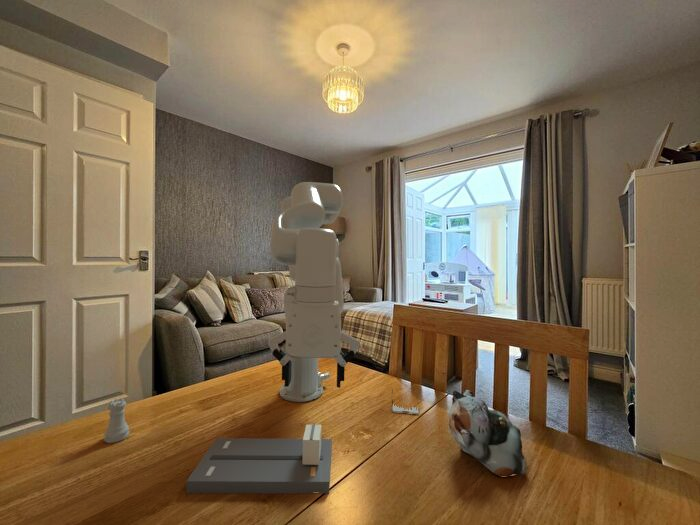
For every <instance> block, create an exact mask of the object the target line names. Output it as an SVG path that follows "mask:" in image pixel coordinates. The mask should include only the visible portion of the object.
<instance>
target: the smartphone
mask: <svg viewBox="0 0 700 525" xmlns="http://www.w3.org/2000/svg"><path fill="white" fill-rule="evenodd" d="M390 409H391V410H392V411H393V412H399V413H412V414H419V413H420V414H421V410H420V409H419V410H418V407H417V410H416V407H415V408H414V407H412V410H411V409H410V408H409V410H408V409H405V410H404V408H403V407H402V408H401V407H400V408H399V406H398V407H397V406H396V405H395V406H394V404H393V406H391V408H390ZM391 410H390V411H391ZM392 411H391V412H392ZM393 412H392V413H393ZM399 413H398V414H399Z"/></svg>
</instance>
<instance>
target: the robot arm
mask: <svg viewBox="0 0 700 525" xmlns="http://www.w3.org/2000/svg"><path fill="white" fill-rule="evenodd" d="M343 205H344V195H343V191H342V190H341V188H340V187H339V186H338V185H337V184H335V183H328V182H327V183H325V182H314V181H304V182H298V183H297V184H295V186H293V187H292V190H291V192H290V196H286V197H285V198H284V199H282V201H281V204H280V213H279V214H278V215H276V217H275V218H274V219H273V223H272V226H271V232H270V233H271V234H270V242H269V243H270V244H269V249H270V254H271V255H270V256H271V258H272V259H273V260H274V262H276V263H277V264H279V265H282V266H288V273H289V274H288V275H289V278H290V279H291V280H292V281H293V282H295V283H294V285H291V286H290V287H288V288H287V289H286V290H285V291H284V293H283V308H284V316H285V317H284V318H285V330H284V331H283V332H281V333H279V334H276V335H275V336H273V337H270V338H269V339H268V341H267V345H268V348H269V349H270V351H271V353H272V356H273V357H274V358H275V359H276V360H277V362H279V365H281V381H284V384H283V385H281V386H280V388H279V395H280V397H281V398H282V399H284V400H286V401H287V402H294V403H302V402H303V403H305V402H309V401H314V400H316V399H317V398H319V397H321V396H322V395H323V393H324V386H323V385H322V382H324V381H325V380H326V381H327V380H328V379H330V378H331V374H330V373H329V372H324V373H321V371H319V359H334V360H335V361H336V362H337V363H336V364H337V366H336V387H337V388H340V389H341V383H342V382H345V370H346V369H345V367H346V365H347V364H348V363H349V362H350V361H351V360H353V358H354V357H355V355H356V353H357V351H358V350H359V348H360V345H361V342H360V340H359V339H357V338H356V337H353V336H352V335H350V334H348V333H346V332H345V331H342V318H341V317H342V316H341V314H342V313H343V311H344V302H345V301H344V288H343V274H342V266H341V264H342V263H341V260H340V259H339V254H340V241H339V239H338V238H337V234H336V233H335V231H334V230H332V229H329V228H323V227H322V226H323V225H332V224H333V223H335V221H336V220H337V218H338V217H339V215H340V214H341V212H342V209H343ZM321 227H322V228H321ZM284 341H285V348H284V349H285V352H284V351H283V350H282V349H281V347H280V346H279V343H281V342H284ZM342 342H345V343H346V344H348V345H349V346H350V347H349V349H348V350H346V351H345V353H343V351H342ZM321 394H322V395H321ZM313 399H314V400H313Z"/></svg>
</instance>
